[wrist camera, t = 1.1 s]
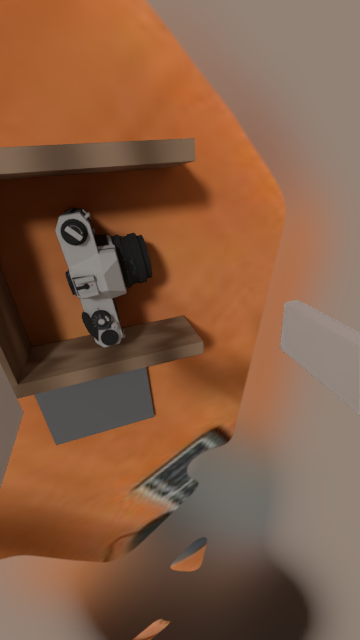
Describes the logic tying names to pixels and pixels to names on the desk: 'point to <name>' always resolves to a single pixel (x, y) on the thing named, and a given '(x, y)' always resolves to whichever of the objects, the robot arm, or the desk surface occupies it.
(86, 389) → the mat
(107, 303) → the camera
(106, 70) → the desk surface
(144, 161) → the cubby
